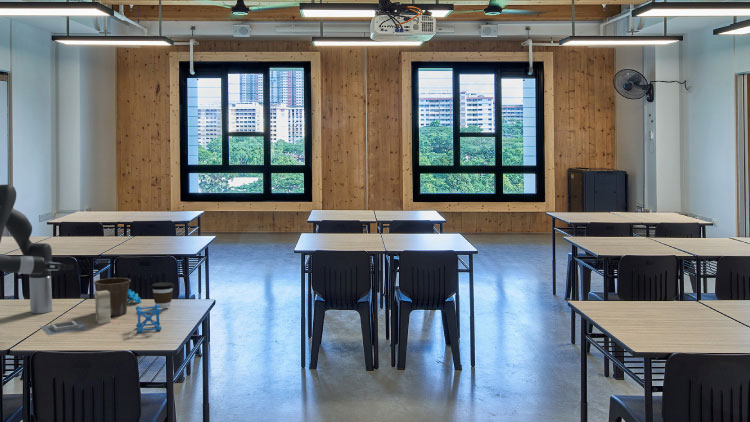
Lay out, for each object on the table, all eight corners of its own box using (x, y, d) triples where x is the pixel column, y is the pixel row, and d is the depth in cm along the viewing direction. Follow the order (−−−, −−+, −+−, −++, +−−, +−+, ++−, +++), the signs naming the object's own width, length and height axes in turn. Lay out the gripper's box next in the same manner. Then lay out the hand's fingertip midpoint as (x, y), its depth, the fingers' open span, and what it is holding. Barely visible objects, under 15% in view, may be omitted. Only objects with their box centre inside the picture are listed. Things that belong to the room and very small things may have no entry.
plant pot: (110, 308, 305) (109, 276, 304) (138, 311, 301) (137, 278, 300) (86, 316, 290) (85, 282, 288) (116, 319, 286) (115, 285, 284)
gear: (137, 302, 311) (124, 288, 312) (129, 311, 311) (115, 296, 311) (145, 300, 322) (132, 286, 323) (137, 308, 322) (124, 294, 322)
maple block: (95, 322, 278) (95, 291, 277) (107, 320, 281) (106, 290, 280) (99, 324, 274) (98, 293, 273) (110, 322, 277) (110, 292, 276)
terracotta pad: (87, 322, 279) (87, 321, 279) (110, 319, 285) (110, 318, 285) (95, 328, 270) (95, 327, 270) (119, 324, 276) (119, 323, 276)
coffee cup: (165, 304, 315) (165, 281, 314) (179, 307, 309) (178, 283, 308) (146, 308, 306) (146, 284, 305) (160, 311, 300) (159, 287, 299)
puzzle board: (40, 329, 268) (39, 323, 268) (79, 323, 279) (79, 317, 278) (48, 337, 256) (48, 331, 256) (89, 330, 266) (89, 325, 266)
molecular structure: (136, 327, 272) (135, 305, 271) (159, 325, 276) (159, 303, 275) (137, 333, 263) (136, 310, 262) (161, 331, 267) (161, 308, 266)
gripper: (36, 256, 256) (76, 258, 268) (25, 255, 266) (64, 258, 278) (34, 274, 255) (75, 276, 267) (23, 273, 265) (62, 274, 277)
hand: (69, 267), depth 272 cm, fingers open, 8 cm apart
